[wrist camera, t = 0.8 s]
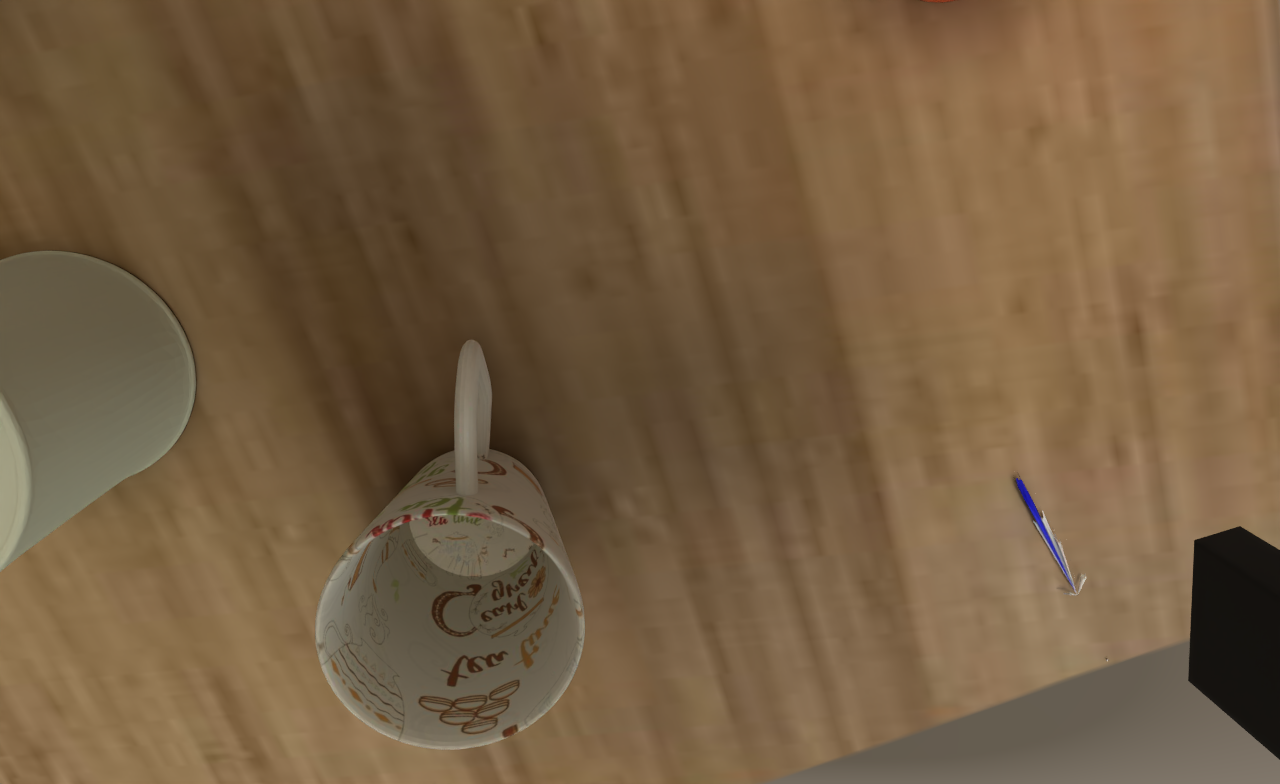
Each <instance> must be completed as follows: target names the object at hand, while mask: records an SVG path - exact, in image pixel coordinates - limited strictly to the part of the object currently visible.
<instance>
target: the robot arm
mask: <svg viewBox="0 0 1280 784" xmlns="http://www.w3.org/2000/svg"><path fill="white" fill-rule="evenodd" d="M1188 681H1189V682H1190V683H1192V684H1193V685H1194V686H1195V687H1196V688H1198V689H1199V690H1200V691H1201V692H1202V693H1203V694H1204V695H1205V696H1207V697H1208V698H1209V699H1210V700H1212V701H1213V702H1214V703H1215V704H1216V705H1217V706H1218V707H1219V708H1221V709H1222V710H1223V711H1224V712H1225V713H1226V714H1227V715H1229V716H1230V717H1231V718H1232V719H1233V720H1234V721H1236V722H1237V723H1238V724H1239V725H1240V726H1241V727H1242V728H1244V729H1245V730H1246V731H1247V732H1248V733H1249V734H1251V735H1252V736H1253V737H1254V738H1255V739H1256V740H1258V741H1259V742H1260V743H1261V744H1262V745H1263V746H1265V747H1266V748H1267V749H1268V750H1269V751H1270V752H1271V753H1273V754H1274V755H1275V756H1276V757H1277V758H1279V759H1280V550H1278V549H1277V548H1275V547H1273V546H1272V545H1270V544H1268V543H1267V542H1265V541H1264V540H1262V539H1260V538H1259V537H1257V536H1255V535H1254V534H1252V533H1250V532H1249V531H1247V530H1245V529H1244V528H1242V527H1240V526H1239V527H1236V528H1233V529H1230V530H1226V531H1223V532H1220V533H1217V534H1213V535H1210V536H1207V537H1204V538H1200V539H1197V540H1194V562H1193V585H1192V608H1191V631H1190V656H1189V679H1188Z"/></svg>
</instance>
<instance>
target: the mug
mask: <svg viewBox="0 0 1280 784" xmlns="http://www.w3.org/2000/svg"><path fill="white" fill-rule="evenodd" d="M491 407H492V388H491V382H490V377H489V373H488V369H487V365H486V362H485V358H484V355H483V352H482V349H481V346H480V344H479V343H478V342H477V341H474V340H468V341H467V342H466V343H465V344H464V345H463V347H462V349H461V352H460V356H459V361H458V368H457V377H456V391H455V410H454V442H455V450H454V451H451V452H448V453H446V454H443V455H441V456H439V457H437V458H436V459H434V460H432V461H431V462H430V463H428V464H427V465H426V466H425V467H423V468H422V469H421V470H420V471H419V472H418V473H417V474H416V475H415V476H414V477H413V478H412V479H411V481H410V482H409V483H408V484H407V485H406V486H405V487H404V488H403V489H402V490H401V491H400V492H399V493H398V494H397V496H396V497H395V498H394V499H393V500H392V501H391V502H390V503H389V504H388V505H387V506H386V507H385V508H384V509H383V511H382V512H381V513H380V514H379V515H378V516H377V517H376V518H375V519H374V520H373V521H372V522H371V523H370V525H369V526H368V527H367V528H366V529H365V530H364V531H363V532H362V533H361V534H360V535H359V536H358V537H357V538H356V540H355V541H354V542H353V543H352V544H351V545H350V546H349V547H348V549H347V550H346V551H345V552H344V554H343V555H342V556H341V558H340V559H339V560H338V562H337V563H336V565H335V566H334V568H333V570H332V572H331V573H330V575H329V577H328V579H327V581H326V583H325V585H324V588H323V590H322V593H321V596H320V599H319V603H318V608H317V613H316V621H315V640H316V649H317V653H318V658H319V661H320V664H321V667H322V670H323V673H324V675H325V677H326V679H327V681H328V683H329V685H330V686H331V688H332V690H333V691H334V693H335V694H336V695H337V697H338V698H339V699H340V701H341V702H342V703H343V704H344V705H345V706H346V707H347V709H348V710H349V711H350V712H352V713H353V714H354V715H355V716H356V717H357V718H358V719H360V720H361V721H362V722H364V723H365V724H366V725H368V726H369V727H371V728H373V729H374V730H376V731H378V732H379V733H381V734H383V735H386V736H388V737H390V738H392V739H395V740H398V741H400V742H403V743H407V744H410V745H414V746H419V747H424V748H432V749H466V748H473V747H479V746H483V745H487V744H491V743H494V742H497V741H500V740H503V739H505V738H507V737H509V736H512V735H514V734H516V733H518V732H520V731H521V730H523V729H525V728H526V727H528V726H529V725H531V724H532V723H534V722H535V721H537V720H538V719H539V718H540V717H542V716H543V715H544V714H545V713H546V712H547V711H548V710H549V709H550V708H551V707H552V706H553V705H554V704H555V703H556V702H557V700H558V699H559V698H560V697H561V695H562V694H563V693H564V691H565V690H566V688H567V687H568V685H569V683H570V681H571V680H572V678H573V676H574V673H575V671H576V669H577V666H578V663H579V660H580V657H581V653H582V649H583V643H584V636H585V620H584V608H583V602H582V598H581V594H580V590H579V587H578V583H577V580H576V577H575V575H574V572H573V569H572V567H571V564H570V561H569V559H568V556H567V553H566V551H565V548H564V545H563V542H562V540H561V537H560V534H559V532H558V529H557V526H556V524H555V521H554V518H553V516H552V513H551V510H550V508H549V505H548V502H547V500H546V497H545V495H544V492H543V490H542V488H541V486H540V484H539V483H538V481H537V479H536V478H535V477H534V475H533V474H532V473H531V472H530V471H529V470H528V469H527V468H526V467H525V466H524V465H523V464H522V463H520V462H519V461H517V460H516V459H514V458H513V457H511V456H509V455H507V454H504V453H502V452H499V451H496V450H492V449H489V443H490V426H491Z"/></svg>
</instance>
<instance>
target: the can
mask: <svg viewBox="0 0 1280 784" xmlns="http://www.w3.org/2000/svg"><path fill="white" fill-rule="evenodd" d="M195 390H196V373H195V365H194V360H193V355H192V351H191V348H190V345H189V343H188V340H187V338H186V335H185V333H184V331H183V329H182V327H181V326H180V324H179V322H178V320H177V319H176V317H175V316H174V314H173V313H172V312H171V310H170V309H169V308H168V306H167V305H166V304H165V303H164V302H163V301H162V299H161V298H160V297H159V296H158V295H157V294H156V293H155V292H154V291H153V290H151V289H150V288H149V287H148V286H146V285H145V284H144V283H143V282H142V281H140V280H139V279H137V278H136V277H134V276H133V275H131V274H130V273H128V272H126V271H124V270H123V269H121V268H119V267H117V266H115V265H113V264H110V263H108V262H105V261H103V260H100V259H97V258H94V257H91V256H87V255H84V254H78V253H73V252H65V251H35V252H28V253H23V254H18V255H15V256H11V257H8V258H5V259H3V260H0V571H1V570H3V569H4V568H5V567H7V566H8V565H9V564H10V563H12V562H13V561H14V560H15V559H17V558H18V557H19V556H20V555H22V554H23V553H24V552H26V551H27V550H28V549H30V548H31V547H32V546H34V545H35V544H36V543H38V542H39V541H41V540H42V539H43V538H45V537H46V536H47V535H49V534H50V533H51V532H53V531H54V530H55V529H57V528H58V527H59V526H61V525H62V524H63V523H65V522H66V521H67V520H69V519H70V518H71V517H73V516H74V515H75V514H77V513H78V512H79V511H81V510H82V509H84V508H85V507H86V506H88V505H89V504H90V503H92V502H93V501H95V500H96V499H97V498H99V497H100V496H101V495H103V494H104V493H106V492H107V491H108V490H110V489H111V488H112V487H114V486H115V485H117V484H118V483H120V482H121V481H122V480H124V479H125V478H127V477H129V476H132V475H134V474H137V473H138V472H140V471H142V470H144V469H146V468H148V467H149V466H151V465H152V464H154V463H155V462H156V461H158V460H159V459H160V458H161V457H162V456H163V455H164V454H166V453H167V452H168V451H169V450H170V448H171V447H172V446H173V445H174V444H175V443H176V441H177V440H178V438H179V437H180V435H181V434H182V432H183V430H184V428H185V426H186V424H187V422H188V420H189V417H190V414H191V411H192V407H193V404H194V399H195Z"/></svg>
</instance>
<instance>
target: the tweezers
mask: <svg viewBox="0 0 1280 784" xmlns="http://www.w3.org/2000/svg"><path fill="white" fill-rule="evenodd" d="M1013 478H1014V477H1013ZM1016 481H1017V483H1018V485H1019V486H1018V485H1017V486H1018V488H1019V490H1020V492H1021V494H1022V496H1023V498H1024V500H1025V502H1026V504H1027V506H1028V507H1029V509H1030V511H1031V513H1032V515H1033V516H1034V518H1035V520H1036V522H1037V523H1036V522H1034V521H1033V522H1034V523H1035V525H1036V527H1037V528H1038V530H1039V532H1040V533H1041V535H1042V537H1043V538H1044V540H1045V542H1046V543H1047V545H1048V547H1049V549H1050V550H1051V552H1052V554H1053V555H1054V557H1055V559H1056V560H1057V562H1058V564H1059V565H1060V567H1061V569H1062V570H1063V572H1064V574H1065V575H1066V577H1067V579H1068V581H1069V583H1070V584H1071V586H1072V587H1073V589H1074V591H1075V593H1076V589H1075V586H1076V585H1075V586H1074V583H1073V580H1072V577H1071V574H1070V570H1069V567H1068V564H1067V561H1066V558H1065V555H1064V552H1063V548H1062V545H1061V542H1060V543H1059V542H1058V543H1057V541H1058V540H1057V541H1056V539H1057V537H1056V539H1055V537H1054V536H1053V534H1052V532H1051V529H1050V527H1049V524H1048V522H1047V520H1046V517H1045V515H1044V512H1043V517H1044V519H1043V518H1041V517H1040V515H1039V512H1038V510H1037V508H1036V506H1035V504H1034V502H1033V500H1032V499H1031V497H1030V495H1029V493H1028V491H1027V489H1026V487H1025V485H1024V484H1023V482H1022V480H1018V478H1017V479H1016ZM1042 511H1043V510H1042ZM1052 528H1053V527H1052ZM1055 536H1056V535H1055ZM1059 541H1060V539H1059ZM1058 544H1059V545H1058ZM1070 560H1071V559H1070ZM1084 576H1085V574H1084V575H1081V578H1080V583H1079V589H1078V593H1079V592H1080V590H1081V588H1082V586H1083V584H1084V581H1085V579H1086V578H1085V579H1084ZM1076 594H1077V593H1076ZM1064 595H1075V594H1073V593H1071V592H1070V593H1064ZM1106 660H1107V661H1108V659H1106Z"/></svg>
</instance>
